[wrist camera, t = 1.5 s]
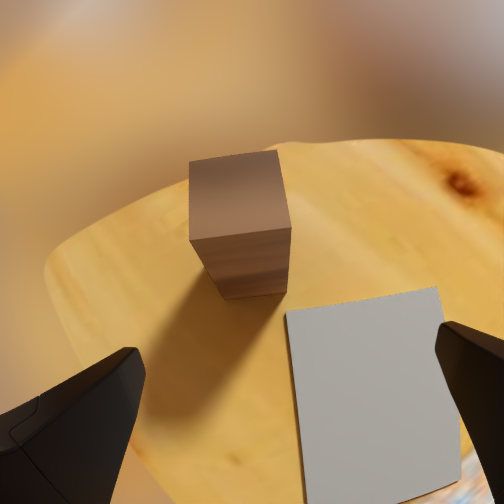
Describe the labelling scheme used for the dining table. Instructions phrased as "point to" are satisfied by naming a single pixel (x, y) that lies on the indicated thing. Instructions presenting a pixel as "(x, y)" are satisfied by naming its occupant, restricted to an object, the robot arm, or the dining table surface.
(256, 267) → the walnut block
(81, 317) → the dining table surface
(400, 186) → the dining table surface
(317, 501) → the mat
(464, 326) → the robot arm
